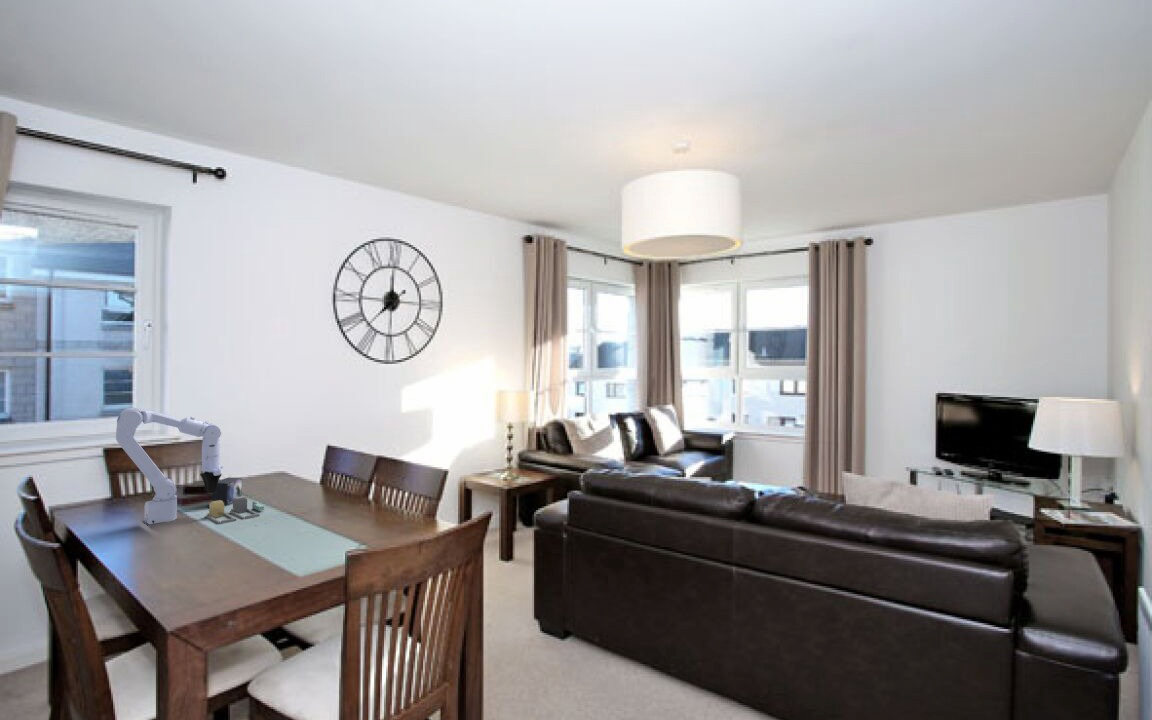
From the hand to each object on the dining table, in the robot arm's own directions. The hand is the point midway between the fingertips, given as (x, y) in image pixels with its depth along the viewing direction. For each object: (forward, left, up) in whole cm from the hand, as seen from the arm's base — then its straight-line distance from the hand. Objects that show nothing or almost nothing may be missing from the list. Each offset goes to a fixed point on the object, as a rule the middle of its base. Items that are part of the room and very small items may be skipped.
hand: (210, 491), depth 222 cm
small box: (+10, +13, -10) cm, 19 cm away
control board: (+5, -10, -9) cm, 15 cm away
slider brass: (0, -6, -8) cm, 10 cm away
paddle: (+13, -9, -8) cm, 18 cm away
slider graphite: (+8, -6, -8) cm, 13 cm away
